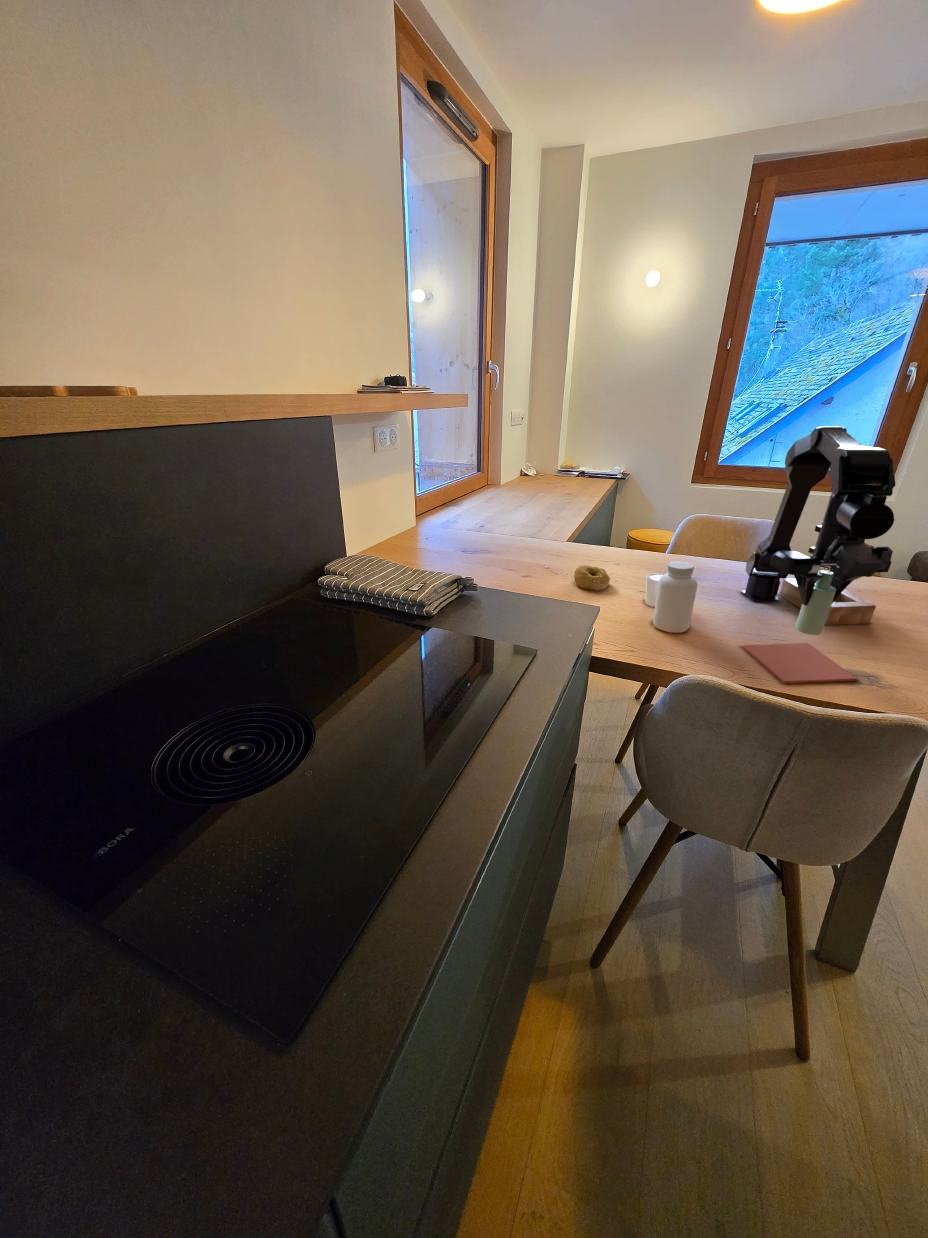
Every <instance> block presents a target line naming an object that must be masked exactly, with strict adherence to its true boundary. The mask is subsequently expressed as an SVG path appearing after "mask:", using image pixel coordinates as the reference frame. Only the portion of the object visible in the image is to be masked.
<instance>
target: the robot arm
mask: <svg viewBox="0 0 928 1238" xmlns="http://www.w3.org/2000/svg"><path fill="white" fill-rule="evenodd" d="M891 455H892V454H891V453H890V451H889V450H888V449H885V448H882V447H874V446H865V445H863V444H862V443H860V442H859V441H858V440H857V439H855V438H854V437H853V436H851V434H849V433H848V431H847V428H846V427H843V426H819V427H815V428H814V429H813V430H812V431H811V433H810V434H807V435H805V436H804V437H801V438H799V439H797V440H796V441H794V443H793V444H792V445H791V447H790V448H789V449H788V451H787V453H786V456H785V460H784V471H785V474H786V476H787V479H788V482H787V485H786V488H785V491H784V494H783V496H782V499H781V502H780V505H779V508H778V510H777V513H776V516H775V519H774V521H773V524H772V527H771V530H770V532H769V535H768V536H767V537H766V538H765V539H763V540H762V541H761V542H759V543H758V544H757V547H756V549H755V551H754V552H753V553H752V554H751V555H750V557H749V558H748V559H747V561H746V562H745V563H746V564H745V572H746V574H747V575H748V579H747V583H746V587H745V590H741V591H740V593H741V594H743V595H744V596H746V597H747V598H748V599H750V600H751V601H752V602H778V601H779V600H780V598H778V597H777V596H778V593H779V589H780V585H781V579H783V580H784V579H787V577H788V576H793V577H794V579H796V582H797V586H798V590H799V595H800V599H801V603H802V604H803V605H807V604H808V602H809V600H810V598H811V595H812V592H813V589H814V586H815V583H816V581H817V580H819V579H820V578H822V577H823V576H822V575H820V574H819V572H820V568H821V567H822V568H823V567H830V568H829V571H831V572H833V573H834V575H833V578H832V581H831V584H830V586H832V587H834V588H836V592H835V595H834V598H833V601H832V603H833V602H834V601H835V600H836V599H837V597H838V596H839V595H840V594H841V593H842V592H843V590H844V589H845V590H846V588H847V587H848V586H849V585H850V584H851V583H852V582H853V581H855V580H858V579H860V578H863V577H865V578H871V577H872V576H874V574H875V573H888V572H889V571H890V568H891V565H892V560H891V559H892V557H893V553H894V551H893V550H892V549H891V547H890V546H877V547H874V546H868V545H866V544H865V543H866V542H865V541H866V540H873V539H877V538H880V537H881V536H884V535H885V534H887V532H889V530H891V528H892V527H893V525H894V522H895V514H894V511H893V509H892V508H891V507H890V506H889V505H887V504H886V501H887V499H888V497H892V496H893V493H894V492H893V489H894V488H895V486H896V478H895V469H894V460H893V457H892V456H891ZM828 473H829V474H828ZM827 475H829V479H830V484H831V488H830V489H829V492H830V496H829V500H828V504H827V506H826V509H825V513H824V516H823V520H822V523H821V525H819V524H818V525H817V524H816V525H815V528H814V532H816V533H818V536H817V539H816V542H815V546H809V548H808V550H807V553H808V554H811V555H812V556H811V555H810V556H809V555H808V556H807V555H805V554H803V553H802V552H799V551H797V550H792V548H791V545H790V544H791V542H792V539H793V537H794V534H795V531H796V529H797V526H798V524H799V522H800V519H801V516H802V514H803V511H804V509H805V506H806V504H807V501H808V499H809V496H810V495H811V494H810V493H811V491H812V489H813V488H814V487H815V486H817V485H818V484H819V483H820V482H822V481H823V480H824V479H826V477H827Z"/></svg>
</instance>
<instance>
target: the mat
mask: <svg viewBox="0 0 928 1238" xmlns="http://www.w3.org/2000/svg"><path fill="white" fill-rule="evenodd" d="M742 649H744V650H745V651H746V652H747V653H749V654H750V656H752V657H753V658H754V659H755V660H756V661H758V663H760V664H761V665H762V666H764V668H766V669H767V670H768V671H769V672H770V673H771V674H772V675H774V676H775V677H776V678H777V679H778V680H779V681H780V682H782V683H783V684H802V683H803V684H804V683H827V682H828V683H829V682H830V683H832V682H833V683H834V682H857V680H858V678H857V677H856V676H854V675H853V674H851V673H850V672H849V671H847V669H845V668H843V667H842V666H840V665H839V664H837V663H836V662H835V661H833V660H832V659H830V658H829V657H828V656H826V655H825V654H824V653H822V652H820V651H819V650H818V649H817V648H815V647H814V646H812V645H811V644H809V643H808V642H805V643H804V642H802V643H799V642H798V643H774V644H747V645H746V644H744V645H742Z"/></svg>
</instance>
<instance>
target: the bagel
mask: <svg viewBox="0 0 928 1238" xmlns="http://www.w3.org/2000/svg"><path fill="white" fill-rule="evenodd" d="M573 579H574V580H575V581H574V583H575V582H576V583H575V585H576V586H577V587H580V588H581V589H586V590H591V591H597V592H599V591H602V590H604V589H606V588H607V587H608V586H609V583H610V581H611V577H610V576H609V575H608V573H607V571H606V570H605V569H604V568H602V567H599V566H592V565H588V564H587V565H586V564H584V565H583V564H582V565H579V566H578V567H577V568H576V569H575V570H574V573H573Z"/></svg>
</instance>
